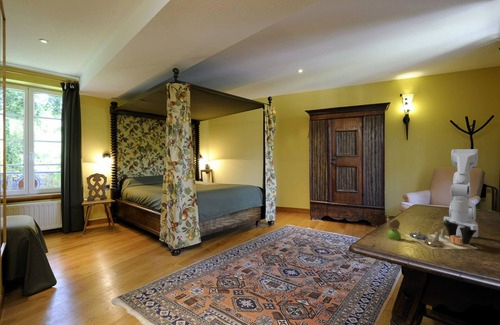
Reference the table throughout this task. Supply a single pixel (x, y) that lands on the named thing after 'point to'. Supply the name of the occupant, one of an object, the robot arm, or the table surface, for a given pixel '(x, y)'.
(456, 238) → the idler gear
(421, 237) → the gear
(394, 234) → the snail figurine
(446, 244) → the gear board
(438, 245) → the gear
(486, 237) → the table surface
